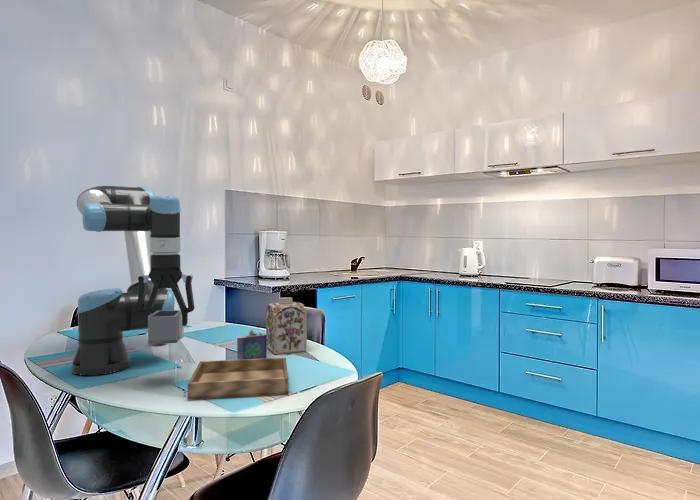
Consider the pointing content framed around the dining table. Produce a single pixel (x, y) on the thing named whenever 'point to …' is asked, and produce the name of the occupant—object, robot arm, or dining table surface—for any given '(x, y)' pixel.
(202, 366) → the tray
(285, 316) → the decorative jar
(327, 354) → the dining table surface
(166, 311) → the small crate
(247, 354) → the flask
